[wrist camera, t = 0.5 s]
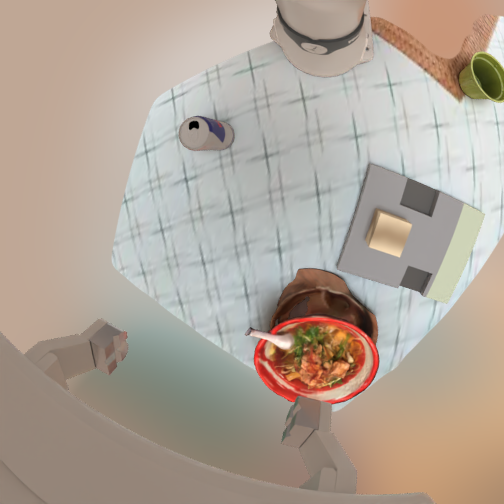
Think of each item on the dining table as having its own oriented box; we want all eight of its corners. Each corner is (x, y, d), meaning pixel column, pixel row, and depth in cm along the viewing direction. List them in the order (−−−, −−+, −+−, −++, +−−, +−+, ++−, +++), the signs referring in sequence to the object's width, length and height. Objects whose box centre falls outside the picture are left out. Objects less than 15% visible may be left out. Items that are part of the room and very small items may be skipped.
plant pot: (470, 57, 29) (490, 46, 22) (494, 98, 31) (517, 94, 23) (442, 70, 33) (461, 58, 25) (468, 113, 35) (490, 109, 27)
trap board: (369, 163, 44) (371, 164, 42) (480, 211, 40) (485, 214, 38) (336, 265, 51) (337, 269, 50) (443, 299, 48) (447, 303, 46)
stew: (234, 306, 60) (207, 352, 45) (325, 243, 51) (327, 282, 36) (308, 383, 64) (300, 434, 49) (393, 340, 54) (407, 392, 39)
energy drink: (234, 120, 46) (209, 113, 36) (235, 149, 48) (211, 148, 37) (206, 123, 48) (176, 118, 37) (208, 151, 50) (178, 152, 39)
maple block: (375, 208, 44) (380, 212, 40) (405, 218, 43) (412, 224, 40) (365, 239, 46) (368, 247, 43) (394, 249, 46) (399, 257, 42)
